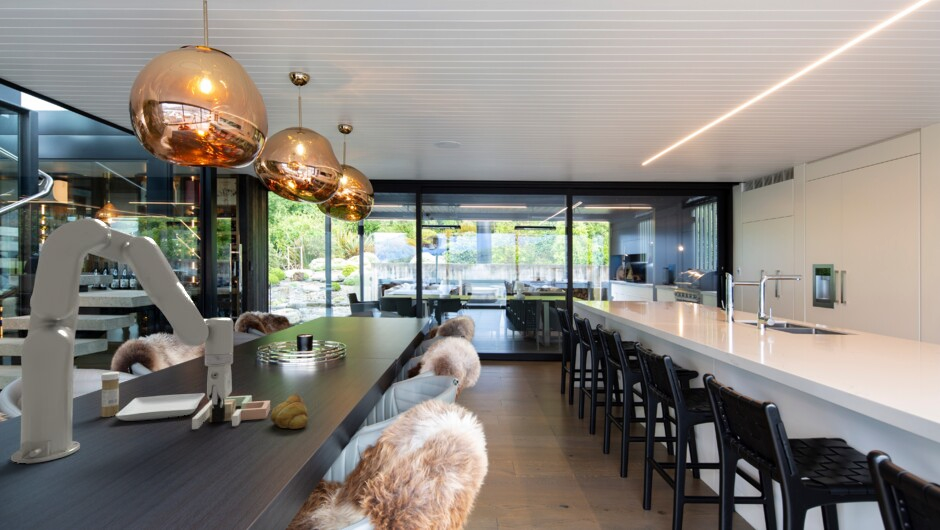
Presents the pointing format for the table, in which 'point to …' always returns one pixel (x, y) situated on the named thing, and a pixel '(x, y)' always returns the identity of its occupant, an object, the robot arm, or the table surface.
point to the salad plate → (160, 407)
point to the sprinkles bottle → (110, 393)
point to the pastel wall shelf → (237, 411)
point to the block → (226, 410)
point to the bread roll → (290, 413)
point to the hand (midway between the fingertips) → (218, 420)
